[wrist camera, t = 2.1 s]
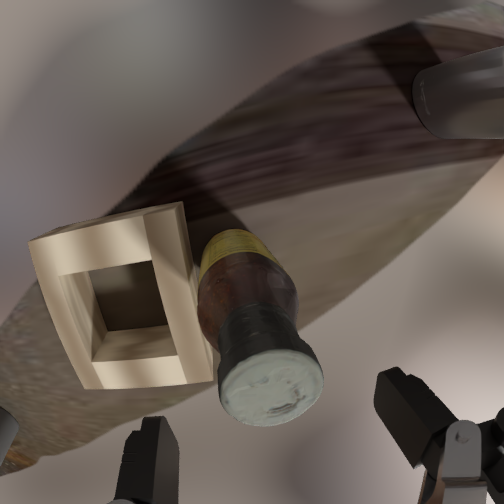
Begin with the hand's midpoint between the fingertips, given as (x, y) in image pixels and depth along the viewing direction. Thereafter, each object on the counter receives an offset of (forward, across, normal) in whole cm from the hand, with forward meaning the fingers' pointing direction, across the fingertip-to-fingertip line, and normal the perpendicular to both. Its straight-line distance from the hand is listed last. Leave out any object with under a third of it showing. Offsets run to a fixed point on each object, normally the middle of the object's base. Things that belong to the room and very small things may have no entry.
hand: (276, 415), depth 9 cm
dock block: (+21, +11, +2) cm, 23 cm away
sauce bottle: (+21, 0, 0) cm, 21 cm away
